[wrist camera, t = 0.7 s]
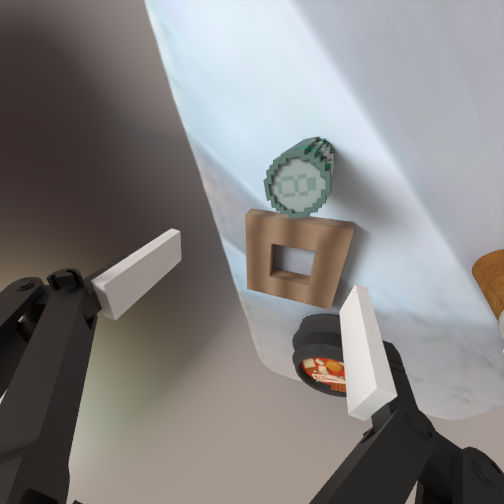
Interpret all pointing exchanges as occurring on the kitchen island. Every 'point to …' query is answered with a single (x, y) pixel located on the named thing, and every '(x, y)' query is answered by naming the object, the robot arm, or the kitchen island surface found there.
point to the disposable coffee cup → (492, 282)
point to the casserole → (320, 354)
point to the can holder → (303, 237)
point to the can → (301, 178)
